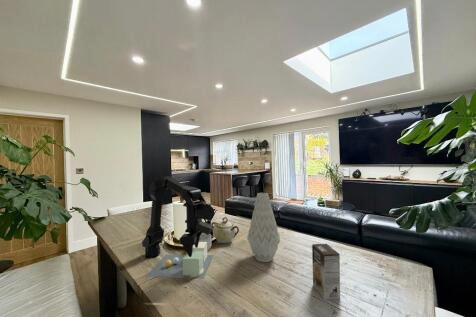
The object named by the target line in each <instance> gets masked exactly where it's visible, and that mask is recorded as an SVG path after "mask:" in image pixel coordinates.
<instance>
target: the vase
mask: <svg viewBox="0 0 476 317" xmlns="http://www.w3.org/2000/svg"><path fill="white" fill-rule="evenodd" d="M246 239H247V241H248V243H249V246H250V247H249V248H250V250H251V252H252V254H253V255H254V257H255V260H256V261H257V262H261V263H269V262H271V261H273V259H274V257H275V256H276V253H277V251H278V247H279V244H280V242H281V236H280V233H279V230H278V224H277V222H276V219H275V214H274V211H273V207H272V203H271V200H270V196H269V193H266V192H260V193H259V192H257V194H256V199H255V203H254V208H253V211H252V217H251V220H250V226H249V229H248V233H247V238H246Z"/></svg>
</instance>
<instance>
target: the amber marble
mask: <svg viewBox="0 0 476 317" xmlns="http://www.w3.org/2000/svg"><path fill="white" fill-rule="evenodd" d="M171 264H172V262H171V260H167V261H166V262H165V266H166V267H170V266H171Z"/></svg>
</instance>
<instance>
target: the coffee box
mask: <svg viewBox="0 0 476 317" xmlns="http://www.w3.org/2000/svg"><path fill="white" fill-rule="evenodd" d="M311 252H312V253H311V254H312V256H311V258H312V286H313V287H314V288H315V289H316V290H317V292H318V293H319V294H320V297H322V299H323V300H338V299H339V300H340V299H341V270H340V269H341V265H340V264H341V263H340V262H341V261H340V259H341V258H340V253H339V252H338V251H337V250H336V249H334V248H333V247H332V246H330V245H329V244H328V243H313V244H311Z"/></svg>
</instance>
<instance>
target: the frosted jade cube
mask: <svg viewBox="0 0 476 317" xmlns="http://www.w3.org/2000/svg"><path fill="white" fill-rule="evenodd" d="M184 255H185V256H184V258H183V275H200V273H201V271H202V269H203V252H201V251H193V252H192V257H189V256H188V254H187V252H186V253H185V254H184Z"/></svg>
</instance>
